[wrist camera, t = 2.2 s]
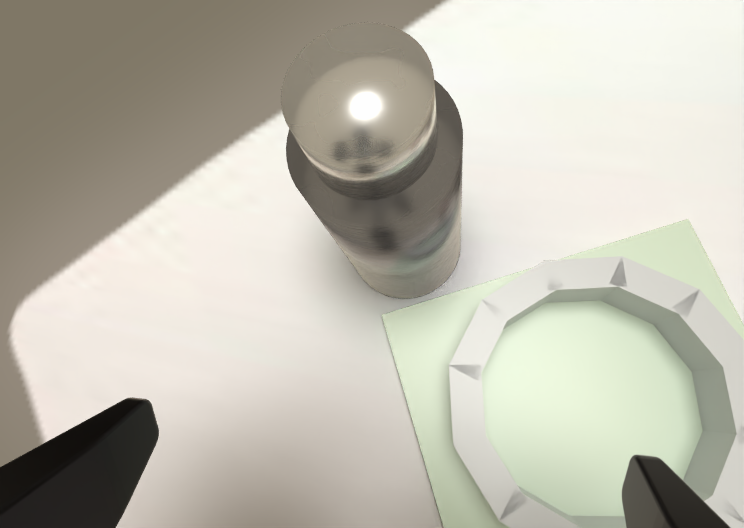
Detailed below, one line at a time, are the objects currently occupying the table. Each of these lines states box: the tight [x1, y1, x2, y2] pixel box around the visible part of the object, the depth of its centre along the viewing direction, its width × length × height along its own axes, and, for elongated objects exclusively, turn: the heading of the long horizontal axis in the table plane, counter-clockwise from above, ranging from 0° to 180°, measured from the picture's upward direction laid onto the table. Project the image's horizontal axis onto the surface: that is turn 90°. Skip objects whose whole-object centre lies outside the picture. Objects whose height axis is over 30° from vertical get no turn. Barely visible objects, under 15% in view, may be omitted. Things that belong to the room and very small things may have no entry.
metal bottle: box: [281, 22, 463, 298], centre depth 18 cm, size 5×5×12 cm
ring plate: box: [382, 219, 744, 528], centre depth 20 cm, size 14×12×3 cm
